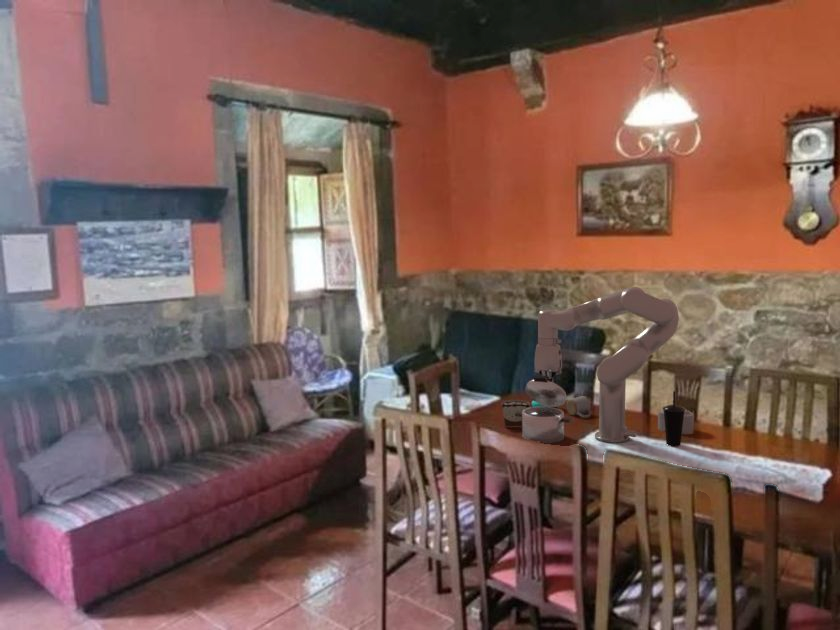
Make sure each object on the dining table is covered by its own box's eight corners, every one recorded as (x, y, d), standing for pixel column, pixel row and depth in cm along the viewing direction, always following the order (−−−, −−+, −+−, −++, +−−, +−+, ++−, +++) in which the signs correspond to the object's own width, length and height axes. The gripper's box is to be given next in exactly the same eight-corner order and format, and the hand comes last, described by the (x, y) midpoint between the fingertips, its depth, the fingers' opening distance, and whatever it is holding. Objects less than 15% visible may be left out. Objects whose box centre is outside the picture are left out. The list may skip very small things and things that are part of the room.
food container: (530, 422, 277) (530, 399, 276) (531, 427, 271) (530, 403, 270) (500, 422, 278) (500, 399, 277) (500, 427, 272) (500, 403, 271)
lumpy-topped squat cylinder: (669, 424, 270) (669, 403, 269) (699, 431, 259) (699, 409, 258) (654, 429, 263) (654, 408, 262) (684, 436, 253) (685, 414, 252)
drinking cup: (670, 448, 239) (671, 394, 237) (658, 442, 246) (658, 390, 244) (689, 446, 241) (690, 392, 239) (675, 440, 248) (676, 388, 246)
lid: (569, 408, 258) (571, 403, 260) (559, 379, 247) (561, 374, 248) (530, 404, 267) (532, 399, 268) (519, 376, 255) (521, 370, 257)
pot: (577, 435, 258) (577, 410, 257) (563, 446, 245) (563, 420, 243) (524, 428, 269) (524, 404, 268) (508, 438, 256) (508, 413, 255)
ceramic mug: (564, 413, 289) (564, 396, 288) (579, 411, 293) (579, 394, 292) (581, 419, 280) (581, 402, 279) (595, 416, 284) (596, 399, 283)
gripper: (569, 341, 257) (569, 387, 259) (533, 339, 265) (533, 384, 267) (563, 344, 251) (563, 391, 253) (526, 342, 259) (526, 387, 261)
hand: (547, 387), depth 260 cm, fingers closed
